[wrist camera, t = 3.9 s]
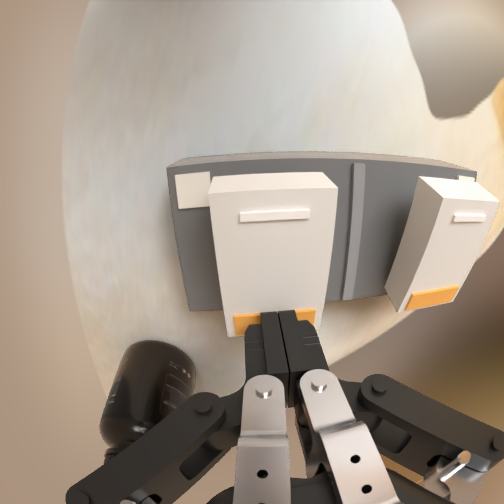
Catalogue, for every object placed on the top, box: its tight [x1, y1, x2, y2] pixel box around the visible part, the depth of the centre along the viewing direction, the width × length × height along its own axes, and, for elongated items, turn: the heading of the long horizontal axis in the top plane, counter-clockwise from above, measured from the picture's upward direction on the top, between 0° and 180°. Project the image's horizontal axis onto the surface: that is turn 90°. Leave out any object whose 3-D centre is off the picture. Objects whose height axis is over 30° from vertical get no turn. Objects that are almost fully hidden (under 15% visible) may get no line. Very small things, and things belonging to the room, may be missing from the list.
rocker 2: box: [385, 176, 500, 313], centre depth 12 cm, size 7×4×2 cm, turn 3°
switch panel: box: [167, 152, 477, 311], centre depth 15 cm, size 8×18×4 cm, turn 93°
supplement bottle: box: [100, 340, 196, 464], centre depth 17 cm, size 7×7×12 cm
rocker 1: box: [208, 172, 338, 337], centre depth 12 cm, size 7×4×2 cm, turn 3°
